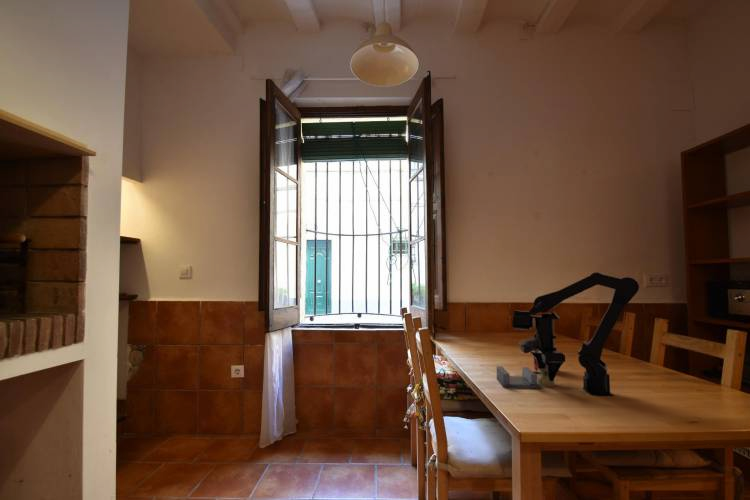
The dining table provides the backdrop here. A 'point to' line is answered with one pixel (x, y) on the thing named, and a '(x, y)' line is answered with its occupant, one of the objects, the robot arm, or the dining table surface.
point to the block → (544, 378)
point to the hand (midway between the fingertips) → (546, 376)
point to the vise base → (514, 380)
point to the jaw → (529, 375)
